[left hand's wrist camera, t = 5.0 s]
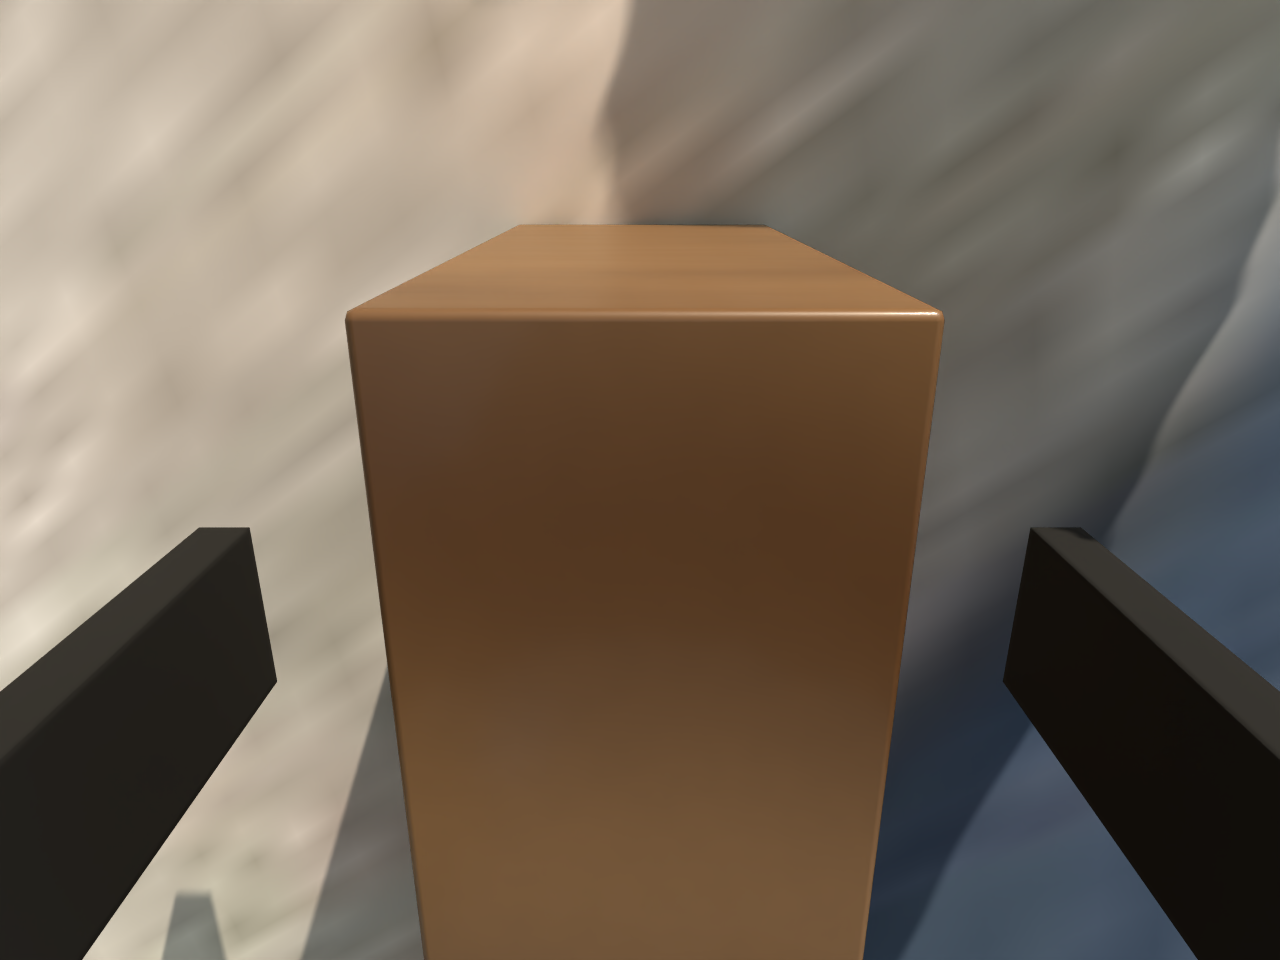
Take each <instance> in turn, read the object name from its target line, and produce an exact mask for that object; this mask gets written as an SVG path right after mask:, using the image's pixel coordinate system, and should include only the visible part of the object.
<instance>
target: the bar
mask: <svg viewBox="0 0 1280 960" xmlns="http://www.w3.org/2000/svg"><path fill="white" fill-rule="evenodd" d="M944 321H945V320H944V316H943V313H942V311H940V310H938V309H936V308H934V307H932V306H930V305H928V304H926V303H924V302H922V301H920V300H918V299H915V298H913V297H911V296H909V295H907V294H905V293H903V292H901V291H899V290H897V289H895V288H893V287H891V286H889V285H887V284H885V283H883V282H881V281H879V280H877V279H875V278H872V277H870V276H868V275H866V274H864V273H862V272H860V271H858V270H856V269H854V268H852V267H850V266H848V265H846V264H844V263H842V262H840V261H838V260H836V259H834V258H832V257H830V256H827V255H825V254H823V253H821V252H819V251H817V250H815V249H813V248H811V247H809V246H807V245H805V244H803V243H801V242H799V241H797V240H795V239H793V238H791V237H789V236H787V235H784V234H782V233H780V232H778V231H776V230H774V229H772V228H770V227H768V226H766V225H518V226H516V227H514V228H512V229H510V230H508V231H506V232H504V233H502V234H500V235H498V236H496V237H494V238H492V239H490V240H488V241H486V242H484V243H482V244H480V245H478V246H476V247H474V248H472V249H470V250H468V251H467V252H465V253H463V254H461V255H459V256H457V257H455V258H453V259H451V260H449V261H447V262H445V263H443V264H441V265H439V266H437V267H435V268H433V269H431V270H429V271H427V272H425V273H423V274H421V275H419V276H417V277H415V278H413V279H411V280H409V281H407V282H405V283H403V284H401V285H399V286H397V287H395V288H393V289H391V290H389V291H387V292H385V293H383V294H381V295H379V296H377V297H375V298H373V299H371V300H369V301H367V302H365V303H363V304H361V305H359V306H357V307H355V308H353V309H351V310H349V311H347V314H346V318H345V326H346V334H347V342H348V350H349V358H350V366H351V374H352V382H353V390H354V398H355V406H356V414H357V422H358V430H359V438H360V447H361V455H362V463H363V471H364V479H365V487H366V495H367V503H368V511H369V519H370V527H371V535H372V543H373V551H374V559H375V568H376V576H377V584H378V592H379V600H380V608H381V616H382V624H383V632H384V640H385V648H386V656H387V664H388V672H389V680H390V688H391V697H392V705H393V713H394V721H395V729H396V737H397V745H398V753H399V761H400V769H401V777H402V785H403V793H404V801H405V809H406V818H407V826H408V834H409V842H410V850H411V858H412V866H413V874H414V882H415V890H416V898H417V906H418V914H419V922H420V930H421V938H422V947H423V955H424V960H863V954H864V946H865V938H866V930H867V923H868V915H869V907H870V899H871V891H872V884H873V876H874V868H875V860H876V852H877V844H878V837H879V829H880V821H881V813H882V805H883V798H884V790H885V782H886V774H887V766H888V759H889V751H890V743H891V735H892V727H893V719H894V712H895V704H896V696H897V688H898V680H899V673H900V665H901V657H902V649H903V641H904V634H905V626H906V618H907V610H908V602H909V594H910V587H911V579H912V571H913V563H914V555H915V548H916V540H917V532H918V524H919V516H920V509H921V501H922V493H923V485H924V477H925V469H926V462H927V454H928V446H929V438H930V430H931V423H932V415H933V407H934V399H935V391H936V384H937V376H938V368H939V360H940V352H941V345H942V337H943V329H944Z"/></svg>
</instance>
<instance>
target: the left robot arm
mask: <svg viewBox="0 0 1280 960" xmlns="http://www.w3.org/2000/svg"><path fill="white" fill-rule="evenodd" d="M276 682H277V678H276V672H275V667H274V661H273V656H272V650H271V644H270V639H269V633H268V628H267V622H266V617H265V611H264V606H263V600H262V594H261V589H260V583H259V578H258V572H257V567H256V561H255V556H254V550H253V544H252V539H251V533H250V528H198V529H197V530H196V531H194V532H193V533H192V534H191V535H190V536H188V537H187V538H186V539H185V540H184V541H182V542H181V543H180V544H179V545H177V546H176V547H175V548H174V549H173V550H171V551H170V552H169V553H168V554H167V555H165V556H164V557H163V558H162V559H161V560H159V561H158V562H157V563H156V564H154V565H153V566H152V567H151V568H150V569H148V570H147V571H146V572H145V573H144V574H142V575H141V576H140V577H139V578H138V579H136V580H135V581H134V582H133V583H131V584H130V585H129V586H128V587H127V588H125V589H124V590H123V591H122V592H121V593H119V594H118V595H117V596H116V597H114V598H113V599H112V600H111V601H110V602H108V603H107V604H106V605H105V606H104V607H102V608H101V609H100V610H99V611H98V612H96V613H95V614H94V615H93V616H91V617H90V618H89V619H88V620H87V621H85V622H84V623H83V624H82V625H81V626H79V627H78V628H77V629H76V630H75V631H73V632H72V633H71V634H70V635H68V636H67V637H66V638H65V639H64V640H62V641H61V642H60V643H59V644H58V645H56V646H55V647H54V648H53V649H51V650H50V651H49V652H48V653H47V654H45V655H44V656H43V657H42V658H41V659H39V660H38V661H37V662H36V663H35V664H33V665H32V666H31V667H30V668H28V669H27V670H26V671H25V672H24V673H22V674H21V675H20V676H19V677H18V678H16V679H15V680H14V681H13V682H11V683H10V684H9V685H8V686H7V687H5V688H4V689H3V690H2V691H1V692H0V960H82V959H83V958H84V956H85V955H86V953H87V952H88V951H89V949H90V948H91V946H92V945H93V943H94V942H95V941H96V939H97V938H98V936H99V935H100V933H101V932H102V931H103V929H104V928H105V926H106V925H107V923H108V922H109V921H110V919H111V918H112V916H113V915H114V913H115V912H116V911H117V909H118V908H119V906H120V905H121V903H122V902H123V901H124V899H125V898H126V896H127V895H128V893H129V892H130V891H131V889H132V888H133V886H134V885H135V884H136V882H137V881H138V879H139V878H140V876H141V875H142V874H143V872H144V871H145V869H146V868H147V866H148V865H149V864H150V862H151V861H152V859H153V858H154V856H155V855H156V854H157V852H158V851H159V849H160V848H161V846H162V845H163V844H164V842H165V841H166V839H167V838H168V836H169V835H170V834H171V832H172V831H173V829H174V828H175V826H176V825H177V824H178V822H179V821H180V819H181V818H182V816H183V815H184V814H185V812H186V811H187V809H188V808H189V806H190V805H191V804H192V802H193V801H194V799H195V798H196V796H197V795H198V794H199V792H200V791H201V789H202V788H203V787H204V785H205V784H206V782H207V781H208V779H209V778H210V777H211V775H212V774H213V772H214V771H215V769H216V768H217V767H218V765H219V764H220V762H221V761H222V759H223V758H224V757H225V755H226V754H227V752H228V751H229V749H230V748H231V747H232V745H233V744H234V742H235V741H236V739H237V738H238V737H239V735H240V734H241V732H242V731H243V729H244V728H245V727H246V725H247V724H248V722H249V721H250V719H251V718H252V717H253V715H254V714H255V712H256V711H257V709H258V708H259V707H260V705H261V704H262V702H263V701H264V699H265V698H266V697H267V695H268V694H269V692H270V691H271V689H272V688H273V687H274V685H275V684H276ZM1003 682H1004V684H1005V685H1006V687H1007V688H1008V689H1009V691H1010V692H1011V694H1012V695H1013V697H1014V698H1015V699H1016V701H1017V702H1018V704H1019V705H1020V707H1021V708H1022V709H1023V711H1024V712H1025V714H1026V715H1027V717H1028V718H1029V719H1030V721H1031V722H1032V724H1033V725H1034V727H1035V728H1036V729H1037V731H1038V732H1039V734H1040V735H1041V737H1042V738H1043V739H1044V741H1045V742H1046V744H1047V745H1048V747H1049V748H1050V749H1051V751H1052V752H1053V754H1054V755H1055V757H1056V758H1057V759H1058V761H1059V762H1060V764H1061V765H1062V767H1063V768H1064V769H1065V771H1066V772H1067V774H1068V775H1069V776H1070V778H1071V779H1072V781H1073V782H1074V784H1075V785H1076V786H1077V788H1078V789H1079V791H1080V792H1081V794H1082V795H1083V796H1084V798H1085V799H1086V801H1087V802H1088V804H1089V805H1090V806H1091V808H1092V809H1093V811H1094V812H1095V814H1096V815H1097V816H1098V818H1099V819H1100V821H1101V822H1102V824H1103V825H1104V826H1105V828H1106V829H1107V831H1108V832H1109V834H1110V835H1111V836H1112V838H1113V839H1114V841H1115V842H1116V844H1117V845H1118V846H1119V848H1120V849H1121V851H1122V852H1123V854H1124V855H1125V856H1126V858H1127V859H1128V861H1129V862H1130V864H1131V865H1132V866H1133V868H1134V869H1135V871H1136V872H1137V873H1138V875H1139V876H1140V878H1141V879H1142V881H1143V882H1144V883H1145V885H1146V886H1147V888H1148V889H1149V891H1150V892H1151V893H1152V895H1153V896H1154V898H1155V899H1156V901H1157V902H1158V903H1159V905H1160V906H1161V908H1162V909H1163V911H1164V912H1165V913H1166V915H1167V916H1168V918H1169V919H1170V921H1171V922H1172V923H1173V925H1174V926H1175V928H1176V929H1177V931H1178V932H1179V933H1180V935H1181V936H1182V938H1183V939H1184V941H1185V942H1186V943H1187V945H1188V946H1189V948H1190V949H1191V951H1192V952H1193V953H1194V955H1195V956H1196V958H1197V959H1198V960H1280V692H1279V691H1278V690H1277V689H1276V688H1275V687H1273V686H1272V685H1271V684H1270V683H1269V682H1267V681H1266V680H1265V679H1264V678H1262V677H1261V676H1260V675H1259V674H1258V673H1256V672H1255V671H1254V670H1253V669H1252V668H1250V667H1249V666H1248V665H1247V664H1246V663H1244V662H1243V661H1242V660H1241V659H1239V658H1238V657H1237V656H1236V655H1235V654H1233V653H1232V652H1231V651H1230V650H1229V649H1227V648H1226V647H1225V646H1224V645H1222V644H1221V643H1220V642H1219V641H1218V640H1216V639H1215V638H1214V637H1213V636H1212V635H1210V634H1209V633H1208V632H1207V631H1206V630H1204V629H1203V628H1202V627H1201V626H1199V625H1198V624H1197V623H1196V622H1195V621H1193V620H1192V619H1191V618H1190V617H1189V616H1187V615H1186V614H1185V613H1184V612H1182V611H1181V610H1180V609H1179V608H1178V607H1176V606H1175V605H1174V604H1173V603H1172V602H1170V601H1169V600H1168V599H1167V598H1166V597H1164V596H1163V595H1162V594H1161V593H1159V592H1158V591H1157V590H1156V589H1155V588H1153V587H1152V586H1151V585H1150V584H1149V583H1147V582H1146V581H1145V580H1144V579H1143V578H1141V577H1140V576H1139V575H1138V574H1136V573H1135V572H1134V571H1133V570H1132V569H1130V568H1129V567H1128V566H1127V565H1126V564H1124V563H1123V562H1122V561H1121V560H1119V559H1118V558H1117V557H1116V556H1115V555H1113V554H1112V553H1111V552H1110V551H1109V550H1107V549H1106V548H1105V547H1104V546H1103V545H1101V544H1100V543H1099V542H1098V541H1096V540H1095V539H1094V538H1093V537H1092V536H1090V535H1089V534H1088V533H1087V532H1086V531H1084V530H1083V529H1082V528H1030V533H1029V539H1028V544H1027V550H1026V556H1025V561H1024V567H1023V572H1022V578H1021V583H1020V589H1019V595H1018V600H1017V606H1016V611H1015V617H1014V622H1013V628H1012V633H1011V639H1010V645H1009V650H1008V656H1007V661H1006V667H1005V672H1004V678H1003Z"/></svg>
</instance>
